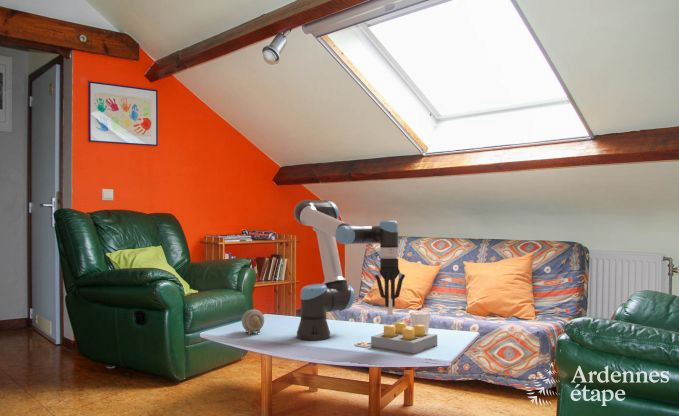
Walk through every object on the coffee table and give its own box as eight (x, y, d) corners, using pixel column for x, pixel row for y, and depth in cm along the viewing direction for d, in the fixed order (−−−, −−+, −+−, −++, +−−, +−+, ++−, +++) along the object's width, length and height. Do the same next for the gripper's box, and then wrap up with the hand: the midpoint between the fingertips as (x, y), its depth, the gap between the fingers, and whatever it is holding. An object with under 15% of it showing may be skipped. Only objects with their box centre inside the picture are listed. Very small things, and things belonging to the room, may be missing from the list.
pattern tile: (354, 345, 218) (354, 343, 218) (362, 343, 222) (362, 341, 222) (366, 347, 214) (366, 345, 214) (374, 345, 219) (374, 343, 219)
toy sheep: (246, 337, 235) (246, 312, 235) (237, 330, 250) (237, 307, 251) (268, 335, 239) (268, 311, 240) (258, 329, 255) (259, 306, 255)
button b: (400, 341, 210) (400, 328, 210) (406, 339, 214) (406, 327, 214) (410, 342, 207) (410, 330, 207) (416, 340, 211) (416, 328, 211)
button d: (411, 337, 217) (411, 325, 218) (417, 335, 221) (416, 324, 221) (421, 339, 214) (421, 327, 215) (427, 337, 218) (427, 325, 218)
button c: (392, 335, 223) (392, 323, 223) (398, 333, 227) (398, 321, 227) (402, 336, 220) (402, 324, 220) (408, 334, 224) (408, 323, 224)
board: (371, 347, 215) (371, 336, 215) (396, 339, 231) (396, 329, 231) (413, 354, 203) (413, 342, 203) (437, 345, 219) (437, 334, 219)
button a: (381, 338, 216) (381, 326, 216) (387, 336, 219) (387, 324, 220) (391, 340, 213) (391, 327, 213) (397, 338, 217) (397, 326, 217)
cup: (416, 333, 243) (416, 310, 243) (435, 336, 237) (435, 312, 237) (405, 337, 235) (405, 312, 236) (424, 340, 229) (424, 314, 229)
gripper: (375, 258, 213) (376, 316, 212) (406, 257, 215) (407, 315, 213) (372, 257, 220) (372, 313, 219) (402, 257, 222) (403, 313, 221)
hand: (390, 314), depth 216 cm, fingers closed
